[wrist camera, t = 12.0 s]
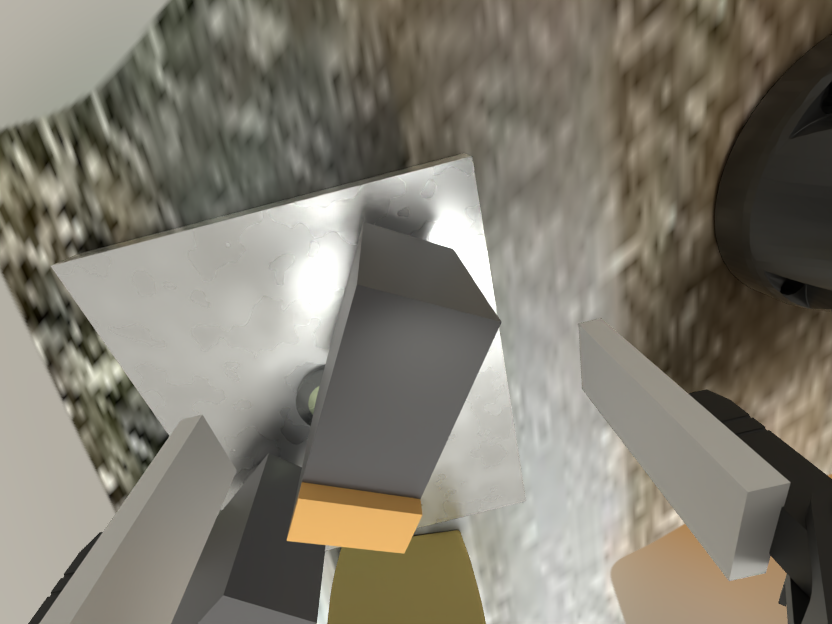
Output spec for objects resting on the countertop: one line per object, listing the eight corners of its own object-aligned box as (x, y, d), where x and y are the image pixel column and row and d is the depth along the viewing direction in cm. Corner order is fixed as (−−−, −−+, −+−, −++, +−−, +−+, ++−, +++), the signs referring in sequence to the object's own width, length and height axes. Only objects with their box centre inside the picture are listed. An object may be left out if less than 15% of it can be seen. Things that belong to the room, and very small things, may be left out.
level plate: (463, 153, 19) (475, 157, 17) (517, 478, 30) (529, 509, 28) (80, 253, 20) (39, 270, 17) (267, 540, 30) (258, 575, 28)
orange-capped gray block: (279, 420, 23) (217, 613, 14) (336, 448, 24) (314, 640, 15) (208, 510, 25) (116, 722, 16) (263, 530, 27) (207, 737, 18)
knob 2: (364, 209, 18) (355, 293, 9) (444, 234, 19) (508, 332, 10) (323, 366, 22) (286, 540, 13) (392, 381, 22) (404, 553, 13)
